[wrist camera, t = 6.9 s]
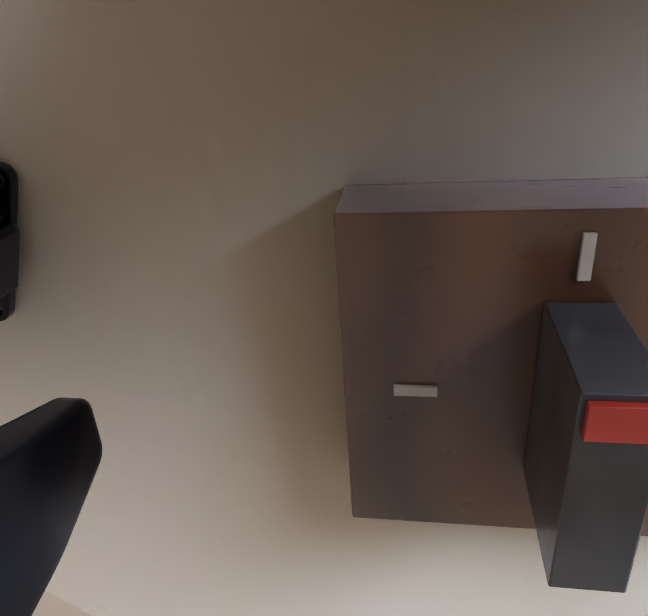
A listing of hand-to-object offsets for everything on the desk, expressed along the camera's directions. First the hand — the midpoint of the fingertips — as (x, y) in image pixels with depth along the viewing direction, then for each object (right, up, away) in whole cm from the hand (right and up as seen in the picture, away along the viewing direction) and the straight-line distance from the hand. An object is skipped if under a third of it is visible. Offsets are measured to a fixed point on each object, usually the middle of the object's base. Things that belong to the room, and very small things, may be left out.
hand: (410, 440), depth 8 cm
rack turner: (+6, -1, +11) cm, 12 cm away
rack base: (+7, 0, +13) cm, 15 cm away
